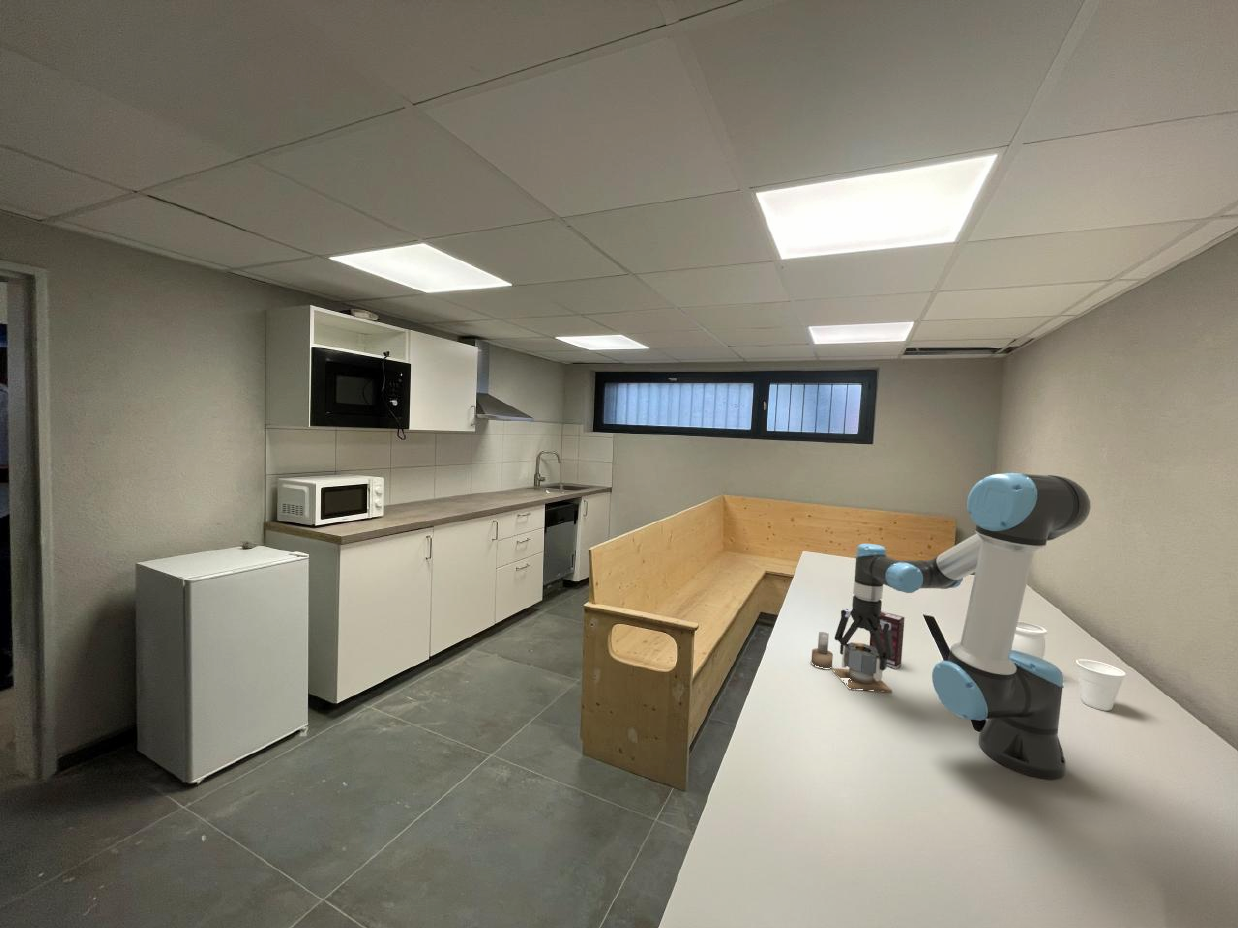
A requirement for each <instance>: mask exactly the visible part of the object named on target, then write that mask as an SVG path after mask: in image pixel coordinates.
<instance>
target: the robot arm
mask: <svg viewBox="0 0 1238 928" xmlns="http://www.w3.org/2000/svg"><path fill="white" fill-rule="evenodd" d="M966 502H967V504H966V505H967V506H966V507H967V512H968V513H969V514H970V515H969V517H970V519H971V521H972V522H973V523H974V524H975V529H974V530H975V534H973V535H971V536H970V537H968V538H966V539H964V540H962V541H961V542H960V543H957V544H956V545H954V546H952V547H951V548H949V549H947V550H945V551H944V552H941V554H939V555H936V556H935V557H933V558H931V559H929V560H926V559H925V560H917V559H915V560H910V559H905V560H904V559H903V560H901V559H900V560H899V559H895V558H891V557H889V556H887V550H886V548H885V547H884V546H883V545H879V544H873V543H861V544H858V546H857V548H856V555H855V566H854V567H855V569H854V581H853V583H854V584H853V592H852V593H853V596H852V609H851V610H849V609H847V608H845V609H842V610H841V611H840V620H839V622H838V623H839V624H838V625H837V629H836V632H835V634H834V640H835V641H837V642H839V643H840V646H839V647H840V648H839V653H840V655H842V658H841V660H842V661H841V667H842V668H843V669H846V668H848V666H847V665H846V664H845V662H844V653H845V645H846V644H848V643H849V641H850V640H851V639H852V637H853V636H854V634H855V633H856V631H858V628H859V629H863V630H865V631H867V632H868V633H869V634H871V635H872V638H873V641H874V643H875V646H876V648H877V651H878V654H879V656H880V657H878V658H877V662H876V673H875V681H879V680H882V679H883V672H884V671H885V670H886V669H887V666H886V664H887V659H889V660H890V659H892V658H894V657H895V654H894V647H893V641H892V634H891V628H892V623H891V622H888V623H887V622H885V621H883V620H882V619H881V616H880V615H881V611H882V604H883V603H882V599H883V594H884V593H883V591H884V585H885V586H887V587H889V588H890V589H891V588H892V589H894V590H896V591H897V592H902V593H906V594H912V593H915V592H916V591H919V589H941V590H945V589H946V590H947V589H953V588H957V587H959V586H960V585H961V583H962V582H963V580H964V578H965V577H967V576H969V575H972V574H974V578H973V582H972V587H971V591H970V592H971V593H970V595H969V596H970V597H969V599H968V600H969V601H968V605H967V610H966V615H965V621H964V625H963V629H962V633H961V639H960V641H958V642H957V643H953V644H952V645H951V647H950V650H949V655H948V659H947V660H942V661H941V662H939V663H936V664H935V666H934V667H933V669H932V674H931V679H932V680H931V681H932V685H933V688H934V691H935V693H936V694H937V698H938V699H939V701H940V702H941V703H942V704H943V706H944V707H945V708H946V709H947V710H948V711H949V712H950V713H951V714H953V715H954V716H957V718H961V719H962V720H963V719H964V720H973V721H985V720H986V722H985V724H984V726H983V728H981V730H980V731H979V735H978V746H979V747H980V748H981V750H982V751H983V752H984V753H985V754H986V755H987V756H988V757H990V758H991V759H993V761H996V762H997V763H999V764H1001V765H1003V766H1005V767H1007V768H1008V769H1011V770H1013V771H1016V772H1018V773H1021V774H1023V773H1024V775H1026V774H1027V776H1031V777H1034V778H1038V779H1044V780H1045V779H1046V780H1058V779H1062V778H1063V777H1064V776H1065V775H1066V767H1067V763H1066V759H1065V757H1064V753H1063V749H1062V745H1061V741H1060V739H1059V738H1060V737H1059V723H1060V715H1061V706H1062V697H1063V696H1062V695H1063V689H1064V685H1063V684H1064V681H1063V680H1064V675H1063V671H1062V670H1061V669H1060V668H1059V667H1058V666H1057V665H1055V664H1054V663H1052V662H1050V661H1047V660H1046V659H1040V658H1038V657H1035V656H1032V655H1029V654H1026V653H1023V652H1019V651H1015V650H1011V649H1012V644H1013V640H1014V636H1015V632H1016V627H1017V623H1018V621H1019V619H1020V618H1019V617H1020V614H1021V608H1022V605H1023V600H1024V596H1025V593H1026V587H1027V584H1028V578H1029V575H1030V570H1031V566H1032V562H1033V558H1034V553H1035V552H1036V551H1037V550H1041V549H1042V548H1045V547H1046V545H1047V543H1048V541H1049V542H1050V541H1053V540H1055V539H1057V538H1060V537H1061V536H1064V535H1066V534H1067V533H1070V532H1072V531H1073V530H1075V529H1077V528H1078V527H1080V526H1081V525H1082V524H1084V523H1085V522H1086V520H1087V519H1088V517H1089V515H1090V511H1091V507H1092V506H1091V499H1090V498H1089V495H1088V492H1086V490H1085V489H1084V488H1083V487H1082V486H1081V485H1080V484H1078V483H1077V482H1076V481H1074V480H1072V479H1070V478H1067V477H1065V476H1062V475H1051V474H1043V475H1042V474H1031V473H1030V474H1028V473H1018V472H1017V473H1016V472H1014V473H1013V472H1009V473H1008V472H1005V473H993V474H991V475H987V476H986V477H984V478H983V479H981V480H979V481H978V482H976V483H975V485H974V486H973V487H972V488H971V490H970V492H969V494H968V497H967V501H966ZM849 618H852V620H853V621H852V623H851V625H850V627H849V628H848V630H847V631H846V632H845V630H846V627H847V625H848V622H849ZM880 624H881V626H882V629H883V637H884V643H885V647H884V644H883V641H882V639H881V636H880V634H879V629H878V625H880ZM1061 777H1062V778H1061Z"/></svg>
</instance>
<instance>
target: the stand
mask: <svg viewBox="0 0 1238 928" xmlns="http://www.w3.org/2000/svg"><path fill="white" fill-rule="evenodd" d="M818 632H819V631H818ZM817 644H818V645H817V647H816V648H813V649H812V650H811V661H810V663H811V662H812V663H813V664H814V665H816V666H819V667H823V668H830V667H832V668H833V657H834V656H833V653H832V651H830V650H828V648H829V633H827V632H825V631H820V632H819V633H818V641H817Z"/></svg>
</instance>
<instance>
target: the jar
mask: <svg viewBox="0 0 1238 928" xmlns="http://www.w3.org/2000/svg"><path fill="white" fill-rule="evenodd" d="M1047 633H1048V632H1047V629H1045V628H1044V627H1041V626H1039V625H1036V624H1033V623H1029V622H1025V621H1019V620H1018V623H1017V627H1016V632H1015V636H1014V640H1013V644H1012V649H1011V650H1015V651H1019V652H1023V653H1026V654H1029V655H1032V656H1035V657H1038V658H1040V659H1043V658H1044V656H1045V653H1046V640H1045V636H1046V635H1047ZM1043 660H1044V659H1043Z"/></svg>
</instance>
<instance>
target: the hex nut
mask: <svg viewBox="0 0 1238 928" xmlns="http://www.w3.org/2000/svg"><path fill="white" fill-rule="evenodd" d="M869 645H870V644H866V643H862V642H861V643H860V642H852V641H851V642H848V643H847V644H846V645H845V653H844V662H845V664H846V665H847V668H848V669H849V668H852V669H854V670H857V671H859V672H863V673H872V674H875V673H876V662H877V658H878V657H880V656H879V654H878V651H877V648H875V647H872V646H869ZM862 651H865V652H862Z"/></svg>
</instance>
